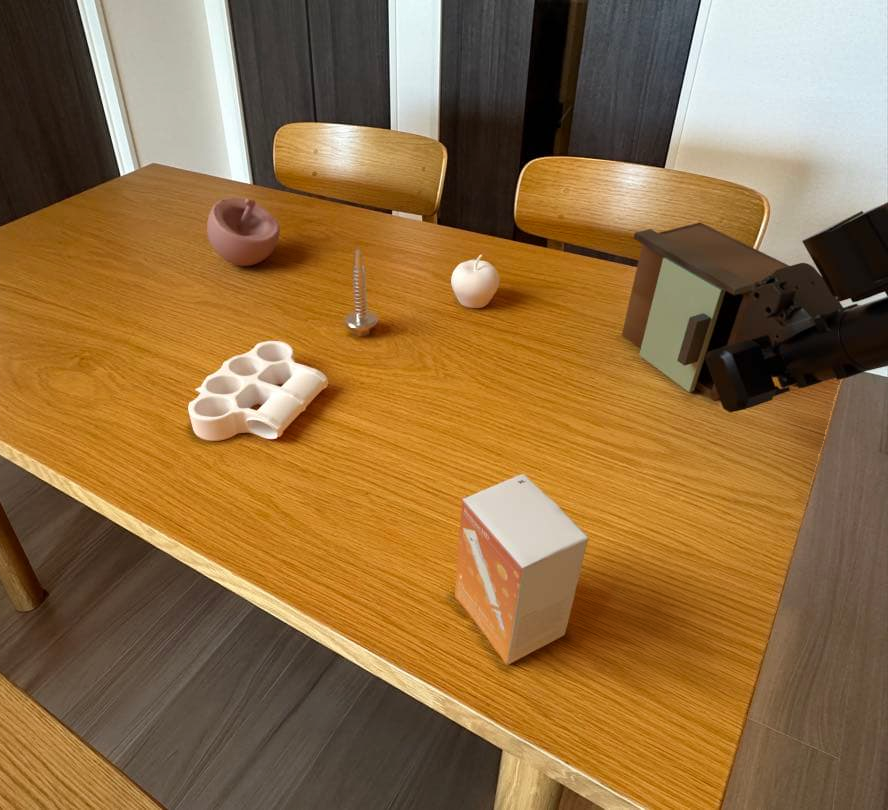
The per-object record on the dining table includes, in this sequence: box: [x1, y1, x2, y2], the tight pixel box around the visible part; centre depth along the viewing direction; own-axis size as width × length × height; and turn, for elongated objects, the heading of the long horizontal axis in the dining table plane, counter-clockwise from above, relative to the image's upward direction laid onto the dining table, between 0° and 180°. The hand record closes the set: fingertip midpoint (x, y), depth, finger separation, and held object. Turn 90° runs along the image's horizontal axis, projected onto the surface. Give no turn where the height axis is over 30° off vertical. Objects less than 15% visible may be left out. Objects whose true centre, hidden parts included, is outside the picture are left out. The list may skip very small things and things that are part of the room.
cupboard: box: [621, 222, 790, 402], centre depth 85 cm, size 16×10×16 cm, turn 21°
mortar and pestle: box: [206, 197, 280, 267], centre depth 116 cm, size 12×12×11 cm
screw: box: [343, 248, 379, 338], centre depth 96 cm, size 13×5×5 cm
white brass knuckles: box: [187, 340, 329, 442], centre depth 87 cm, size 3×18×15 cm
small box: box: [454, 473, 589, 666], centre depth 58 cm, size 8×6×13 cm
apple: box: [450, 254, 500, 309], centre depth 103 cm, size 7×7×8 cm
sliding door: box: [638, 257, 726, 393], centre depth 83 cm, size 9×3×14 cm, turn 21°
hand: (733, 375), depth 76 cm, fingers closed
